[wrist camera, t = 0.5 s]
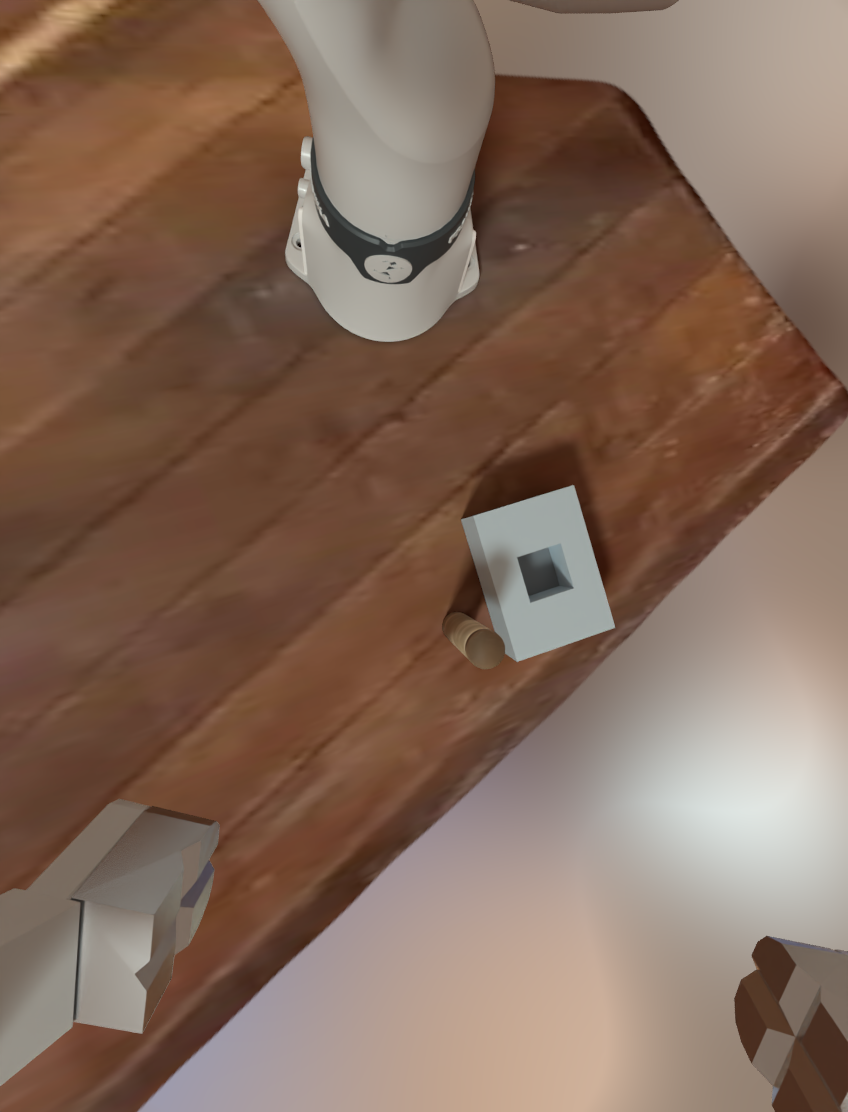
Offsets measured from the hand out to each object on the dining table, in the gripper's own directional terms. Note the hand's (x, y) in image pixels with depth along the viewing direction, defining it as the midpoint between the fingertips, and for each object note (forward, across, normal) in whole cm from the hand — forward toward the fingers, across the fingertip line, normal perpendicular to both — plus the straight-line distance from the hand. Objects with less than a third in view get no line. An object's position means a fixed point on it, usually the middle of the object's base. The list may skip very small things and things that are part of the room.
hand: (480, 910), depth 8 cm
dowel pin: (+43, -3, +11) cm, 45 cm away
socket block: (+46, -8, +4) cm, 46 cm away
